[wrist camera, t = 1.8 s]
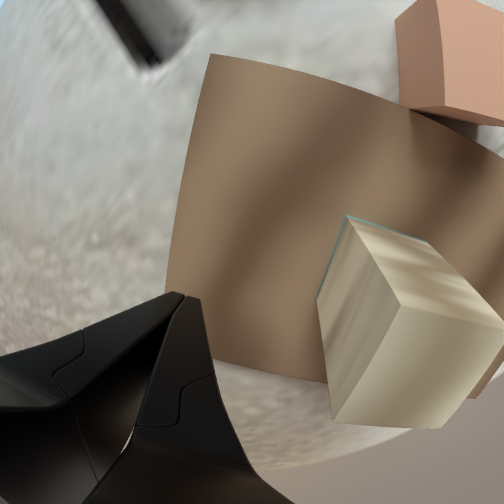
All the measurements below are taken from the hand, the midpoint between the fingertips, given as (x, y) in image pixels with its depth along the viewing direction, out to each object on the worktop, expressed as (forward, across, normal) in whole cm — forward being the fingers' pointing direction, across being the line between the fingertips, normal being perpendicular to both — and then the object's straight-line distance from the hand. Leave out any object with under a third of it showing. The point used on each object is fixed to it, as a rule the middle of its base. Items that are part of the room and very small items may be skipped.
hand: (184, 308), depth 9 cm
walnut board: (+8, -9, 0) cm, 12 cm away
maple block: (+7, -7, 0) cm, 10 cm away
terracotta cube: (+8, -8, -11) cm, 16 cm away
